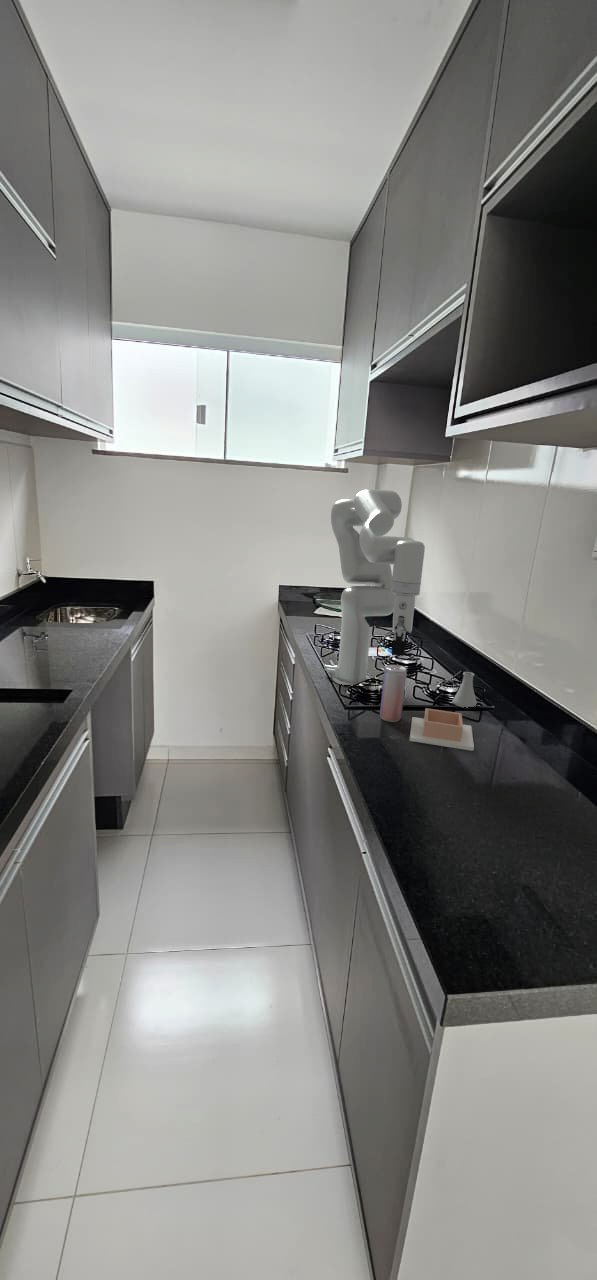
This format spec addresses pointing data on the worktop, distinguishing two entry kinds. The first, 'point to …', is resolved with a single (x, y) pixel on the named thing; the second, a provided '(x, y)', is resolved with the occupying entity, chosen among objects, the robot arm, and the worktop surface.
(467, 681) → the flask
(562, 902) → the worktop surface
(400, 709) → the beverage can
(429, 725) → the socket plate
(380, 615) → the robot arm
